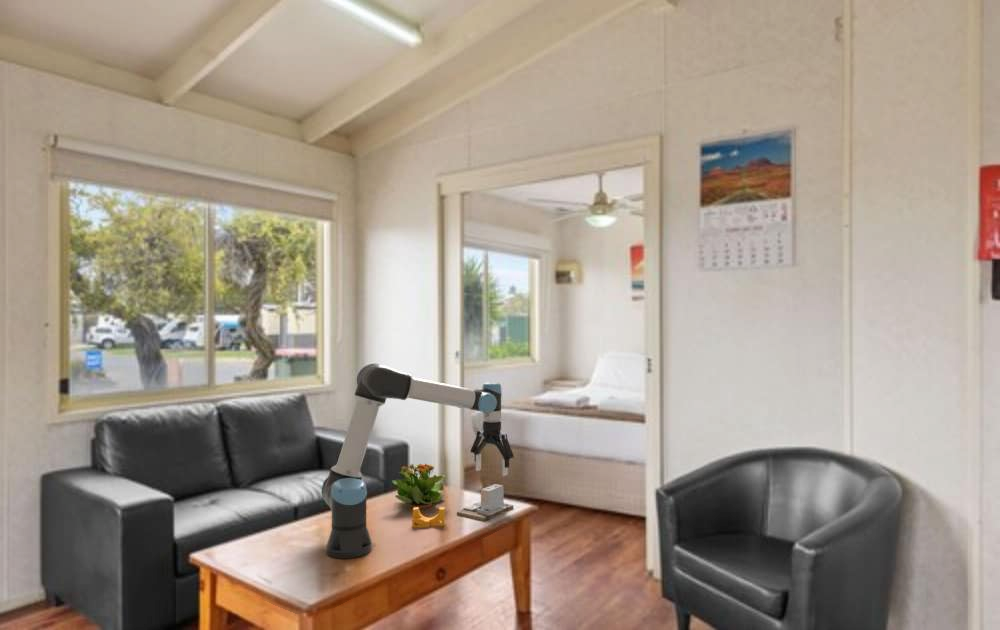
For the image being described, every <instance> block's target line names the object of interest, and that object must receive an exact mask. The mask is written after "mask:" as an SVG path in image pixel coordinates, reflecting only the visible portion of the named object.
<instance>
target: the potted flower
mask: <svg viewBox="0 0 1000 630" xmlns="http://www.w3.org/2000/svg"><path fill="white" fill-rule="evenodd" d="M434 469H435V466H433V465H430V464H427V463H424V464H421V463H419V464H418V465H417V466H415V465H414V464H413V463H411V464H409V466H408V467H407V466H406V465H405V466H402V467H401V471H399V472H398V473H399V474H401V475H403V476H404V479H403V478H402V479H398V478H397V479H394V480H391V482H392V483H393V485H394V486H397V488H396V489H397V494H396V495H395V498H396V499H398V500H399V501H401V502H402V503H403V502H404V503H406V504H408V505H409V507H410V508H412V509H413V508H414V507H419V510H421V509H422V510H423V509H426V508H430V507H431V506H433V503H434V504H436V503H437V504H438V503H439V502H441V500H442V499H443V498H444V494H443V493H441V492H439V491H444V483H443V482H440V481H441V480H442V478H443V479H444V478H446V477H447V475H446V473H445V474H442V475H436V474H435V475H433V476H431V477H430V474H431V473H433V470H434ZM439 482H440V483H439Z"/></svg>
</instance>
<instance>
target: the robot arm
mask: <svg viewBox="0 0 1000 630" xmlns="http://www.w3.org/2000/svg"><path fill="white" fill-rule="evenodd" d="M502 395H503V393H502V385H501V383H500V382H492V381H491V382H484V383H483V384H482V387H479V388H478V387H477V388H467V387H462V386H457V385H452V384H447V383H442V382H436V381H432V380H427V379H422V378H416V377H412V375H411V373H408V372H407V373H406V372H402V371H400V370H397V369H395V368H392V367H390V366H387V365H384V364H381V363H376V362H375V363H369V364H367V365H364V366H363V367H361V369H359V372H357V376H356V389H355V393H354V398H355V400H356V402H355V405H354V410H353V412H352V416H351V418H350V420H349V421H350V422H349V425H348V428H347V431H346V434H345V437H344V441H343V444H342V446H341V451H340V453H339V457H338V460H337V462H336V464H335V465H333V466H331V468H330V471H329V473H328V476H327V477H326V478H325V479H324V481H323V483H322V485H321V495H322V499H323V501H324V502H325V504H326V505H327V506H328V507H329V508H330V510H331V530H330V534H329V536H328V537H329V538H328V541H327V544H326V547H325V548H326V556H328V557H330V558H334V559H339V560H341V559H342V560H343V559H355V558H358V557H362V556H366V555H367V554H369V553H370V552H371V551H372V548H373V543H372V539H371V537H370V536H371V535H370V533H369V529H368V527H367V526H368V525H367V495H368V490H367V485H366V483H365V482H364V481H363V480H362V478H363V474H362V471H361V469H362V464H363V461H364V457H365V456H366V451H367V448H368V445H369V443H370V439H371V436H372V432H373V429H374V426H375V422H376V420H377V419H376V418H377V416H378V413H379V410H380V407H382V406H384V405H385V404H386V400H387V399H395V400H402V401H405V400H407V399H413V400H417V401H423V402H428V403H433V404H440V405H446V406H451V407H456V408H458V409H467V410H471V411H477V412H481V413H482V420H483V421H482V430H477V431H476V437H475V439H474V441H473V444H472V446H471V448H470V453H473V455H474V462H475V471H476V472H479V471H482V453H481V452H482V451H483V449H484V448H485V446H486V445H488V444H491V445H494V446H495V447H496V448H497V449H498V451H499V453H500V454H501V456H502V458H503V459H502V463H501V464H502V465H501V467H502V470H501V471H502V475H501V476H502V477H505V476H508V474H509V468H510V459H513V458H515V457H514V456H515V455H514V453H513V450H512V448H511V445H510V443H509V440H508V434H507V433H503V434H502V433H501V430H502V421H501V420H502ZM482 438H483V439H482Z"/></svg>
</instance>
